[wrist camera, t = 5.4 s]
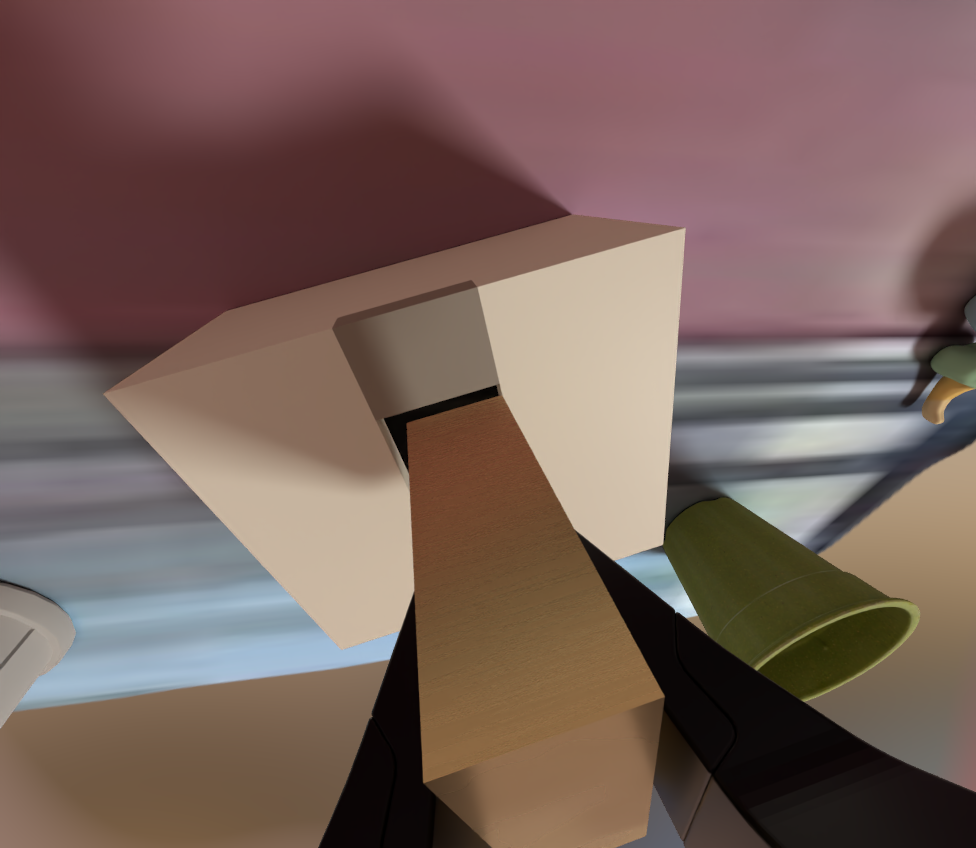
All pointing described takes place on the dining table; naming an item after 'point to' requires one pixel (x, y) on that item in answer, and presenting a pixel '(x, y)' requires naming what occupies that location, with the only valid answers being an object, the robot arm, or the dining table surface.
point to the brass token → (521, 648)
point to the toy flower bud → (952, 372)
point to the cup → (28, 642)
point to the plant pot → (781, 600)
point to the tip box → (424, 401)
